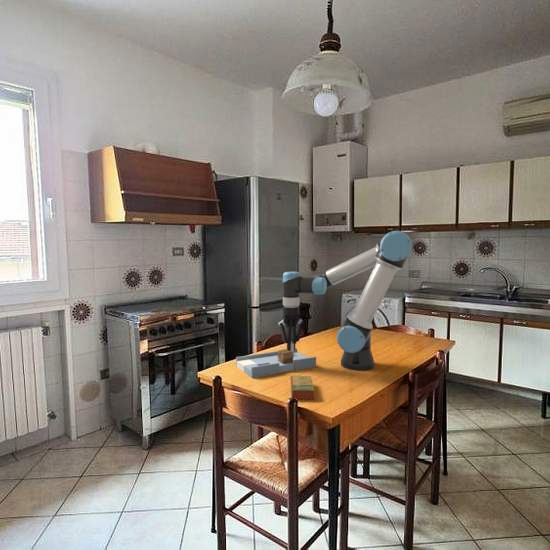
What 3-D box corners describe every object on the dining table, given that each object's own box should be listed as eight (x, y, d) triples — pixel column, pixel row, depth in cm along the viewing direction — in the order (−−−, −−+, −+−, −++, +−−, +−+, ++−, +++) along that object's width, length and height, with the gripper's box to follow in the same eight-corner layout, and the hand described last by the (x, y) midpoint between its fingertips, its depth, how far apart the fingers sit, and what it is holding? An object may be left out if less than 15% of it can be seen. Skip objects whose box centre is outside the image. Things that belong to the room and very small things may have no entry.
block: (293, 362, 179) (292, 351, 179) (283, 364, 177) (283, 353, 177) (287, 359, 184) (287, 348, 183) (278, 361, 181) (277, 350, 181)
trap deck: (316, 366, 182) (316, 357, 182) (252, 378, 168) (252, 367, 167) (296, 357, 198) (296, 348, 198) (236, 366, 183) (236, 357, 183)
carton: (311, 385, 160) (311, 375, 159) (314, 401, 144) (315, 390, 143) (290, 385, 160) (290, 375, 159) (291, 401, 144) (291, 389, 143)
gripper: (299, 303, 186) (299, 353, 188) (274, 306, 180) (274, 357, 182) (307, 306, 179) (307, 357, 182) (282, 308, 174) (282, 361, 176)
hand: (291, 357), depth 182 cm, fingers closed
